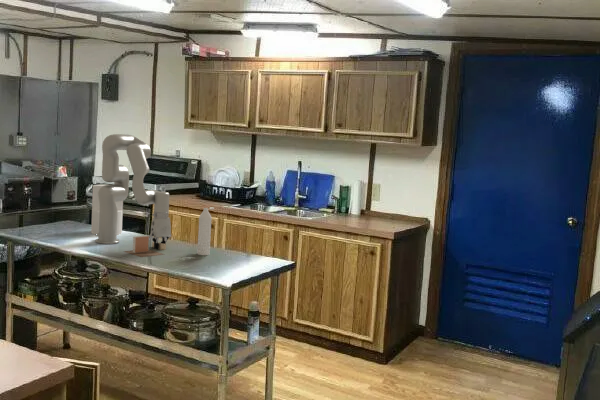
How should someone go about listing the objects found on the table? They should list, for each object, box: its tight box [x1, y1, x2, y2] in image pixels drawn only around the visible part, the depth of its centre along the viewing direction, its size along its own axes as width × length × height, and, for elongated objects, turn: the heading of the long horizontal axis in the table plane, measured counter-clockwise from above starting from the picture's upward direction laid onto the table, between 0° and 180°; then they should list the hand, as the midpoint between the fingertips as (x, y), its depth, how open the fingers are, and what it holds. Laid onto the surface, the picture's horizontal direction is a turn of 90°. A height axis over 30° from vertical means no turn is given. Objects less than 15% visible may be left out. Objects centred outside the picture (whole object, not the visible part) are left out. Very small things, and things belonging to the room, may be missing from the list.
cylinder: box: [90, 183, 124, 236], centre depth 372 cm, size 17×17×28 cm
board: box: [123, 248, 165, 258], centre depth 320 cm, size 16×14×2 cm
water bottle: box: [196, 206, 215, 256], centre depth 331 cm, size 9×6×25 cm
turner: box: [151, 241, 167, 251], centre depth 332 cm, size 13×6×4 cm, turn 48°
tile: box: [132, 235, 150, 253], centre depth 321 cm, size 2×8×8 cm, turn 138°
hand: (159, 249), depth 333 cm, fingers open, 3 cm apart
